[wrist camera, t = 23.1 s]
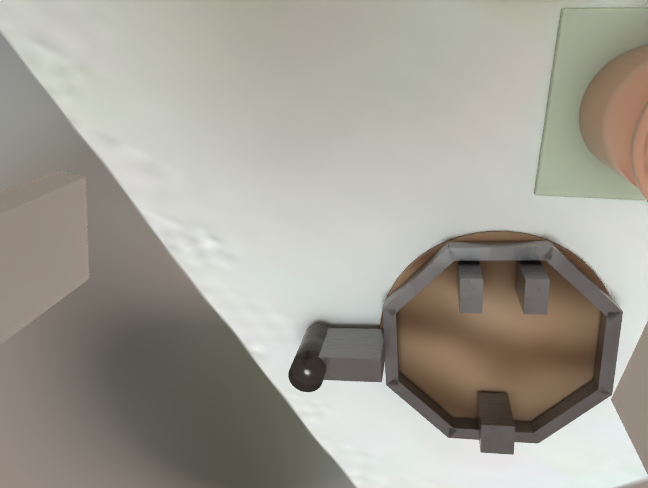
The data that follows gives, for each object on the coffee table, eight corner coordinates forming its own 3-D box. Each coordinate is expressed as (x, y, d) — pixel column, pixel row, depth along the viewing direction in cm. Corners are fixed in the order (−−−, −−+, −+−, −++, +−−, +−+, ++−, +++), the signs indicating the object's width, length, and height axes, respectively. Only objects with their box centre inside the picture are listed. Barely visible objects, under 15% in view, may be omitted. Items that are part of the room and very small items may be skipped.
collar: (313, 420, 47) (299, 466, 42) (294, 243, 41) (275, 272, 36) (600, 436, 43) (624, 491, 37) (625, 240, 37) (657, 272, 32)
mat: (561, 9, 33) (563, 8, 33) (776, 7, 31) (782, 6, 31) (534, 192, 38) (535, 195, 37) (721, 201, 35) (725, 204, 35)
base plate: (384, 223, 40) (384, 226, 40) (639, 239, 37) (642, 241, 37) (376, 414, 47) (376, 419, 46) (592, 440, 44) (594, 446, 43)
